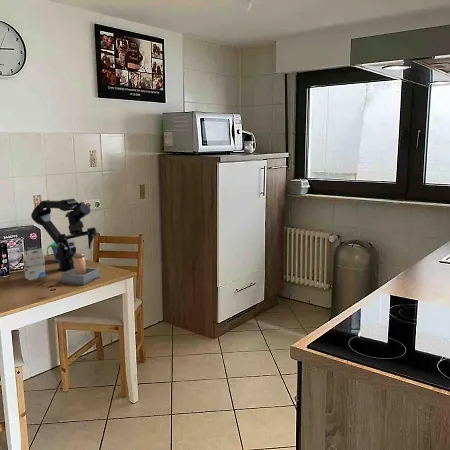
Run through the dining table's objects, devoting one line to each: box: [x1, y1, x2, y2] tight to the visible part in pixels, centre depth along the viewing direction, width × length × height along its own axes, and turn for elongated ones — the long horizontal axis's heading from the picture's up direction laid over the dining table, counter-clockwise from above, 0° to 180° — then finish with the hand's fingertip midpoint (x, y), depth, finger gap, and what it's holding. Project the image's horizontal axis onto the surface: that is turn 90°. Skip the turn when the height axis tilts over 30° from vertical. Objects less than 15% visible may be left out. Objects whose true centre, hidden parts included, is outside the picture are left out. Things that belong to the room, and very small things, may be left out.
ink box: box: [22, 247, 46, 281], centre depth 223 cm, size 8×5×15 cm, turn 136°
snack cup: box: [46, 242, 59, 263], centre depth 255 cm, size 16×10×10 cm
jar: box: [73, 252, 87, 275], centre depth 218 cm, size 5×5×12 cm
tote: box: [60, 267, 101, 286], centre depth 219 cm, size 13×13×4 cm
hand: (80, 251), depth 223 cm, fingers open, 9 cm apart
